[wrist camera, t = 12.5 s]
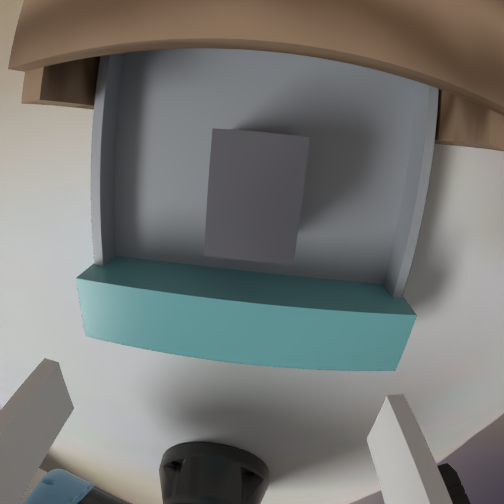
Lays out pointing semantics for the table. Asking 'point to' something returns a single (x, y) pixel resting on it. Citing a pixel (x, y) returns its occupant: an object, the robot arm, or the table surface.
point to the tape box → (255, 195)
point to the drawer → (311, 218)
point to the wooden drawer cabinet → (281, 46)
